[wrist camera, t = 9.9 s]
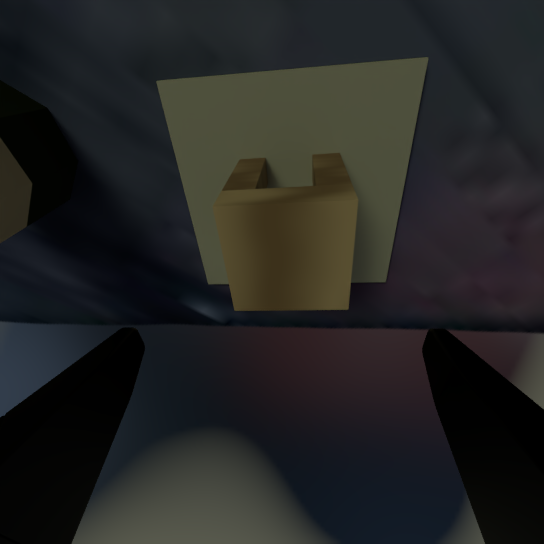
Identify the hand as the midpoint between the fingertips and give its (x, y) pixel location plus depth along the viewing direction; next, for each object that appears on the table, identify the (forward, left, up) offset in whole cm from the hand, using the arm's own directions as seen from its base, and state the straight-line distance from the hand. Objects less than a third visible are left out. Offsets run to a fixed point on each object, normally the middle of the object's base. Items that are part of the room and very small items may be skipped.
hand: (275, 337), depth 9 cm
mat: (0, +1, -13) cm, 13 cm away
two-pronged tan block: (0, +1, -12) cm, 12 cm away
